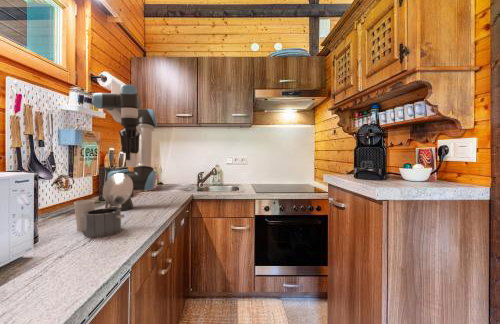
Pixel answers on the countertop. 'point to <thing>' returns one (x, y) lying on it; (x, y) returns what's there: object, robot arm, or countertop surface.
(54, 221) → the countertop surface
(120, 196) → the lid
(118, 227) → the pot
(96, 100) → the robot arm
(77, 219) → the cup
